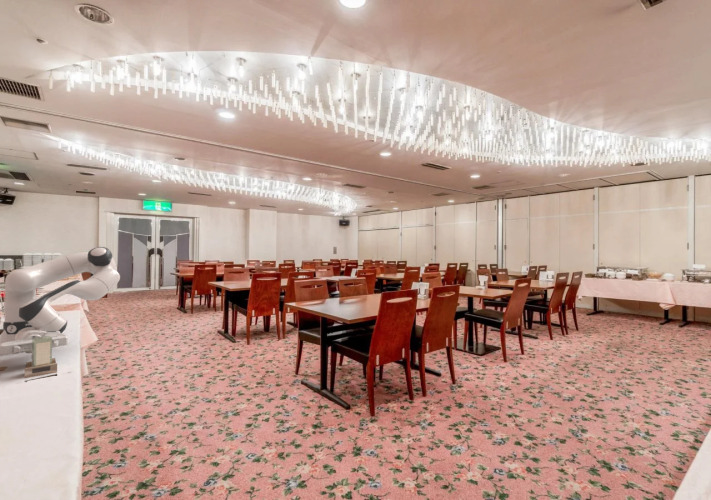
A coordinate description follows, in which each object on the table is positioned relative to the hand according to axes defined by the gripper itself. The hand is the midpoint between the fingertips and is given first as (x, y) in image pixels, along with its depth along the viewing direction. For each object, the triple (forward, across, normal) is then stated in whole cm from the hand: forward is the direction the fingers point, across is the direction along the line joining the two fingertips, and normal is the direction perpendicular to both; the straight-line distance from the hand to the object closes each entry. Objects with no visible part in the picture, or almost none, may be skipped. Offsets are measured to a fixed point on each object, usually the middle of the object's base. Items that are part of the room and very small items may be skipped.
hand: (38, 347), depth 133 cm
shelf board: (-4, +1, +10) cm, 11 cm away
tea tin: (+3, +1, +9) cm, 9 cm away
